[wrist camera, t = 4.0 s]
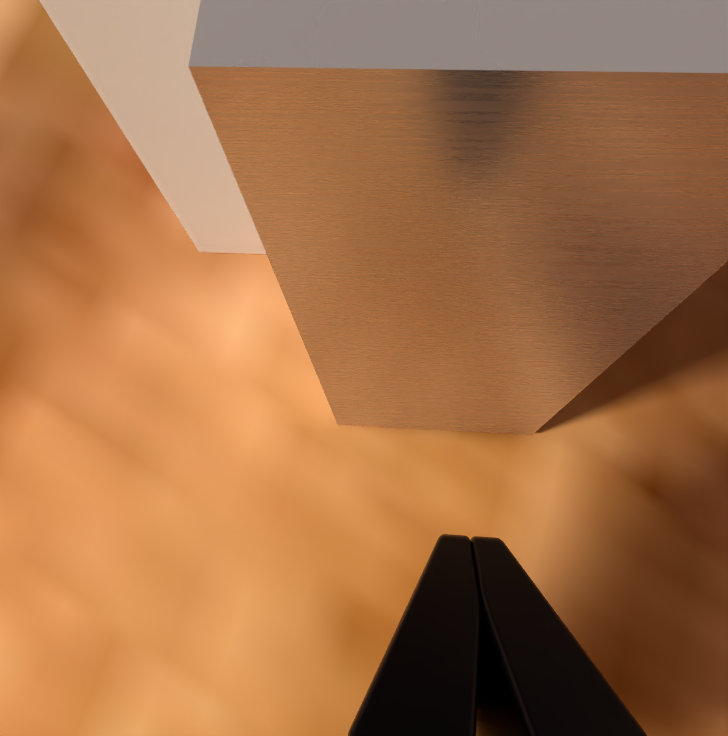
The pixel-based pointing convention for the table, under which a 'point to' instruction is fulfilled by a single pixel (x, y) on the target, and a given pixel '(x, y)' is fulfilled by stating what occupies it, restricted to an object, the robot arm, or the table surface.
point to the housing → (161, 109)
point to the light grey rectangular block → (473, 188)
